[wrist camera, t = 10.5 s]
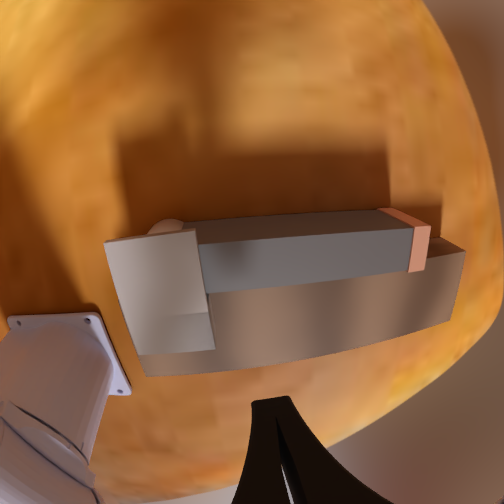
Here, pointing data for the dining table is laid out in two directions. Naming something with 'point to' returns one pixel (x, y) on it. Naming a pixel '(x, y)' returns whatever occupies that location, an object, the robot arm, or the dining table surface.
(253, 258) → the stool leg
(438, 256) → the rail
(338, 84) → the dining table surface
